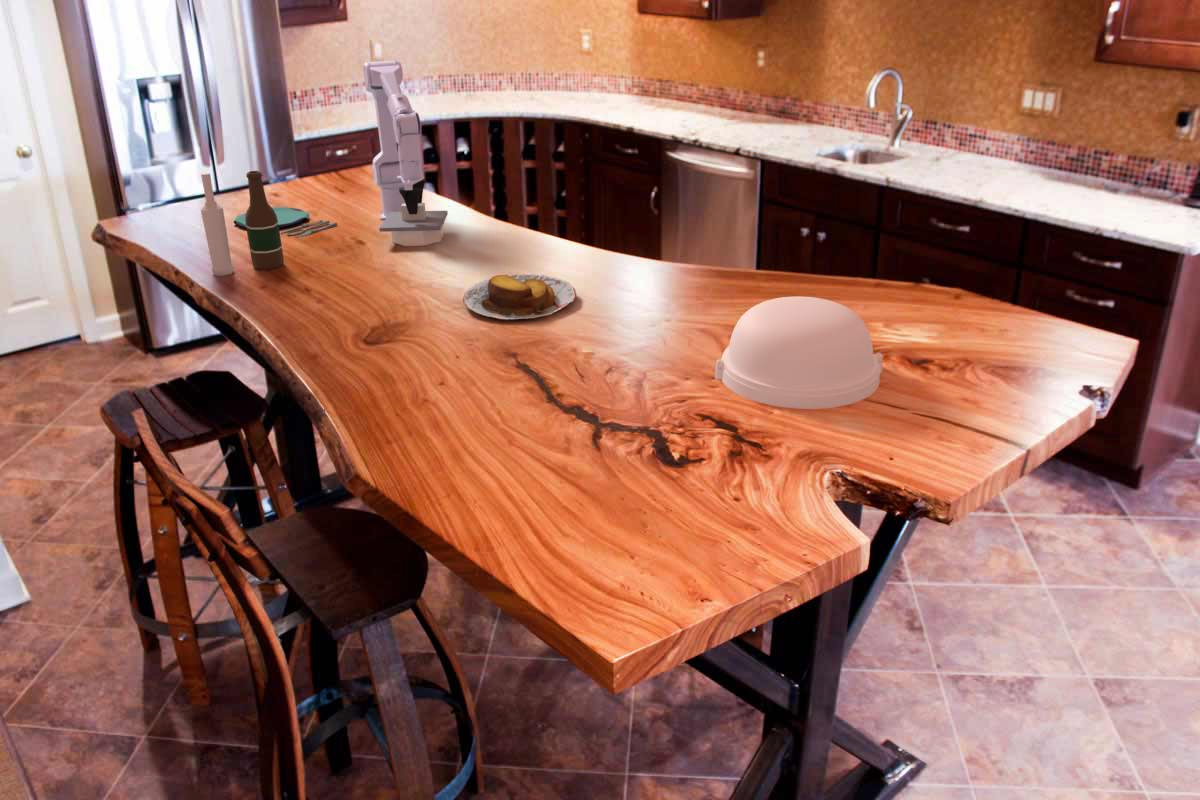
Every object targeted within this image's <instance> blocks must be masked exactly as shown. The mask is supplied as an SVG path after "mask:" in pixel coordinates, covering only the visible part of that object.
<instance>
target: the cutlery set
mask: <svg viewBox="0 0 1200 800" xmlns="http://www.w3.org/2000/svg"><path fill="white" fill-rule="evenodd" d="M271 207H272V206H271ZM272 208H273V210H274V212H275V213H276V216H277V220H278V225H279V228H285V227H289V226H293V225H296V224H298V223H301V222H302V221H303V220H305V219H307V220H309V219H310V213H309V212H307V211H305V210H303V209H299V208H294V207H288V206H273V207H272ZM245 217H246V213H243V214H239V215H236V217H235V219H234V220H233V224H235V225H238V226H241V227H243V228H246V221H245ZM313 224H314V225H313ZM327 224H328V225H327ZM311 225H312V226H311ZM322 225H323V227H320V226H322ZM324 225H326V226H324ZM308 226H310V227H308ZM337 226H338V222H333V223H330V220H325V221H323V219H320V220H318V221H315V222H310V223H304V224H301V225H300V226H297V227H293V228H292V227H291V228H289V229H286V230H283V231H280V235H283V234H286V235H287V236H294V238H296V239H299V238H303V237H305V236H311V235H312V234H314V233H315V232H321V231H324V230H328V229H330V228H332V227H337ZM305 227H306V228H305ZM307 227H308V228H307ZM316 227H320V228H317V229H313V228H316ZM296 232H298V233H296Z"/></svg>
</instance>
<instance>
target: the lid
mask: <svg viewBox="0 0 1200 800" xmlns="http://www.w3.org/2000/svg"><path fill="white" fill-rule="evenodd" d="M401 211H402V212H389V214H388V215H387V217H386V219H383V220H384V221H383V222H382V223H381V224H380V226H379V232H380V233H383V232H384V233H386V232H391V231H431V230H441V228H443V226H444V223H445V221H446V220H447V217H448V214H449V213H448V210H426V205H425V202H422V203H418V211H417V214H409V213H408V210H407V207H406V204H402V205H401Z"/></svg>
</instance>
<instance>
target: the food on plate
mask: <svg viewBox="0 0 1200 800" xmlns="http://www.w3.org/2000/svg"><path fill="white" fill-rule="evenodd" d="M576 292H577V291H576V288H574V287H573V286H572V285H571V283H569V282H567V281H566V280H564V279H561V278H557V277H553V276H548V275H545V274H543V275H542V274H533V273H531V274H529V273H528V274H525V273H523V274H521V273H515V274H497V275H494V276H492V277H491V278H489V279H486V280H485V279H484V280H483V281H482V280H481V281H480V282H479V283H476V284H475V285H473V286H471V287H469V288H468V289H467V291H466V292H464V295H463V297H462V301H461V302H462V304H464V306H465V307H466V308H468V310H470V311H473V313H475V314H477V315H482V316H486V317H488V318H489V317H491V318H494V319H495V318H496V319H498V320H506V321H508V320H519V319H521V320H522V319H526V320H528V319H537V318H541V317H546V316H551V315H553V313H555V312H557V311H559V310H561V309H562V308H565V307H566V306H568V305H569V303H573V302H574V301H575V300H576V299H577V293H576ZM544 311H545V312H544ZM494 313H495V314H499V315H495V314H494ZM536 313H537V314H536ZM568 313H569V311H568V312H567V311H566V314H568ZM500 315H502V316H500Z"/></svg>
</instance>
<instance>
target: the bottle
mask: <svg viewBox="0 0 1200 800" xmlns="http://www.w3.org/2000/svg"><path fill="white" fill-rule="evenodd" d="M200 175H201V181H202V187H203V191H204V198H205V201H204V205H203V206H202V207H201V208H200V215H201V220H202V223H203V227H204V232H205V238H206V243H207V246H208V253H209V257H210V262H211V265H212V266H211V271H212V274H213V275H214V276H217V277H222V276H228V275H231V274H233V273H234V264H233V263H232V259H231V251H230V246H229V240H228V239H229V238H228V233H227V226H226V220H225V219H226V218H225V213H224V207H223V206H222V205H221V204H219V203H218V202H217V200H215V196H214V190H213V189H214V188H213V185H212V184H213V183H212V178H211V173H210V172H202V173H200Z"/></svg>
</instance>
